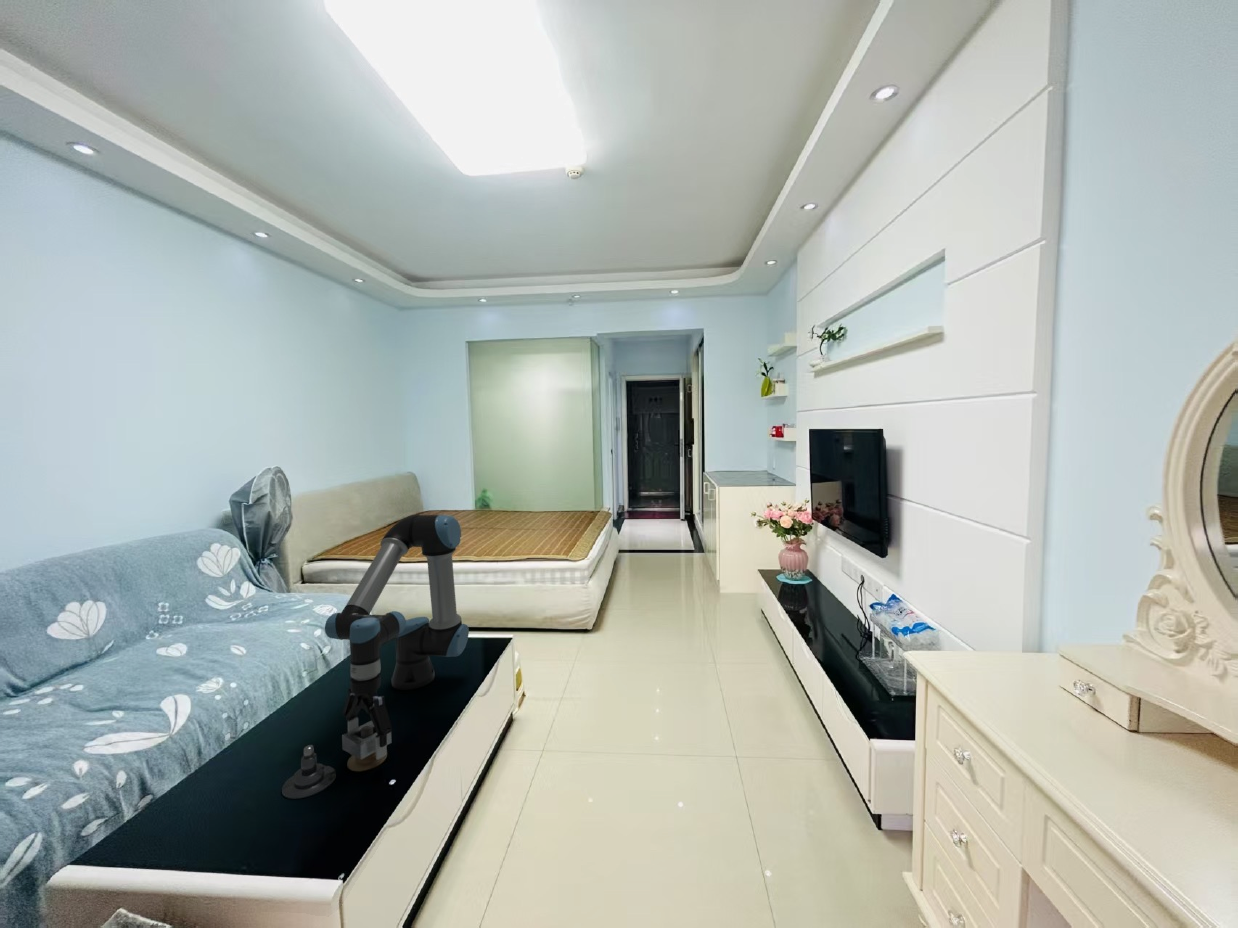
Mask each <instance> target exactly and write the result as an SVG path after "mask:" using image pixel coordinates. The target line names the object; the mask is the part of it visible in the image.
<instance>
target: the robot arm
mask: <svg viewBox="0 0 1238 928" xmlns="http://www.w3.org/2000/svg"><path fill="white" fill-rule="evenodd" d="M461 538H462V531H461V526H460V523H459V521H458V519H457V518H455V516H451V515H444V514H412V515H409V516H406V517H403V518H402V519H400V520H399V521H397V522H396V523H395V524H394V525H393V526H392V527H390V528H389V530H388V531H387V532H386V533H385V534H384V535H383V537H382V539H381V540H380V542H379V543H380V548H379V550H378V552H377V553H376V555H375V556H374V558H373V560H372V562H371V563H370V565H369V566H368V568H367V570H366V572H365V573H364V575H363V577H362V578H361V580H360V582H359V583H358V585H357V587H356V588H355V589H354V591H353V593H352V594H351V596H350V598H349V600H348V601H347V603H346V605H345V606H344V608H343V609H342V611H341V612H336V613H335V612H334V613H333V614H331V615H330V616H328V618H327V620H326V621H325V625H324V632H325V635H326V636H327V638H330V639H336V640H339V641H343V640H345V641H346V640H347V641H349V649H350V651H349V652H350V654H349V655H350V659H349V661H350V669H349V673H350V687H349V688H348V689H347V697H346V699H345V703H344V707H343V709H342V710H343V711H342V713H341V714H342V717H345V720H346V721H347V733H348V732H350V731H352V730H354V729H356V728H358V727H359V717H358V716H359V712H360V710H361V709H363V710H364V711H365V712H366V714H367V715H368V716H369V717H370V721H372V722H373V725H374V727H375V730H376V732H377V734H378V735H376V736H375V737H376V759H377V760H378V759H380V758H382V757H383V756H385V755H387V756H388V750H387V746H388V745H387V734H388V733H390V732H391V733H392V732H393V728H392V723H391V720H390V717H389V713H388V709H387V706H386V698H385V696H384V695H381V696H378V692H377V691H378V689H379V688H380V687H381V684H382V683H381V681H382V678H381V668H382V667H381V647H383V646H384V645H385V644H387V643H389V642H390V641H392V640H393V639H395V660H396V661H395V662H396V664H395V666H394V669H393V674H392V676H391V687H393V688H394V689H396V690H401V691H402V690H403V691H409V690H415V689H419V688H423V687H424V686H427V685H429V684H430V683H432V682H433V681H434V680H435V669H434V666H433V664H432V661H431V658H430V656H434V657H447V658H449V657H450V658H451V657H453V658H454V657H455V658H456V657H458V656H461V654H462V653H463V652H464V650H465V648H466V647H467V642H468V639H469V634H470V633H469V632H470V631H469V630H470V629H469V626H468V624H465V623H462V617H461V615H460V614H458V613H457V601H456V587H455V578H454V577H455V576H454V567H453V566H454V564H453V554H454V553H455V552H456V550H457V549H456V548H457V547H459V545H460V543H461ZM412 548H421V555H422V556H423V557H425V558H426V559H427V560H426V562H427V571H428V583H429V592H430V603H431V604H430V605H431V607H430V608H431V614H432V615H431V616H432V617H431V619H429V618H428V617H427V616H417V617H413V618H408V619H406V617H405V616H404V615H403V614H402V612H400V611H397V610H396V611H394V610H393V611H390V612H387V613H385V614H371V613H372V611H373V608H374V607H375V605H376V603H377V601H378V599H379V598H380V596H381V594H382V593H383V591H384V589H385V587H386V586H387V583H388V581H389V579H390V578H391V577H392V575H393V573H394V572H395V569H396V568H397V566H398V564H399V562H400V560H401V558H402V556H405V555H407V554H408V552H409V550H410V549H412ZM380 730H381V731H380Z"/></svg>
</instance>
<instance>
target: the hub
mask: <svg viewBox="0 0 1238 928" xmlns="http://www.w3.org/2000/svg"><path fill="white" fill-rule="evenodd" d="M336 773H337V771H336V769H335V768H334V767H332V766H329V765H324V764H323V763H320V762H319V763H318V755H317V752H315V749H314V745H313V744H309V745H306V746H304V748H303V755H302V756H301V758H300V768H299V769H298V770H297V771H296V772H295V773H294V774H293V775H292V776H291V777H290V778H288V779H287V780H286V781H284V784H283V785H282V787H281V794H282V796H283V797H284V798H286V799H289V800H300V799H304V798H305V799H306V798H309V797H312V796H314V795H315V796H316V795H317V794H318V793H320V792H323V791H324V790H325V789H327V788H328V787H329V786H330V785H331V784H333V782H334V781H335V779H336V776H337V774H336Z"/></svg>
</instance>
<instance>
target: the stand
mask: <svg viewBox="0 0 1238 928" xmlns="http://www.w3.org/2000/svg"><path fill="white" fill-rule="evenodd" d="M371 735H373V726H365V727H363V728H362V729H361V738H362V739H365V738H367V737H369V736H371ZM387 757H388V754H387V755H385V756H383V757H382V758H380V759H378V760H377V759H376V752H374V753H372V754H370V755H369V756H367V757H365V758H363V759H361V760H360V759H359V758H357V757H355V756H353V755H352V754H351V756H350V757H348V760H347V763H346V765H347V769H348V770H350V771H353V772H365V771H369V770H372V769H374V768H376V767H378V766H380V765H382V763H383V762H385V761H386V759H387Z"/></svg>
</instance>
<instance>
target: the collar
mask: <svg viewBox="0 0 1238 928" xmlns="http://www.w3.org/2000/svg"><path fill="white" fill-rule="evenodd" d="M365 726H373V735H371V736H369V737H367V738H365V739H362V738H361V729H362V728H363V727H365ZM380 731H381V730H380ZM376 735H378V734H377V732H376V730H375V727H374V725H373V722H372V720H370V721H368V722H365V723H364V724H362V725H360V726H358V728H356V729H354V730H352V731H350V732H348V731H347V732H346V733H344V734H342V735H341V740H342V741H341V742H342V746H341V747H342V750H343V751H345V752H347V753H348V754H350V755H351V756H352V755H353V756H355V757H357V758H359V759H360V760H361V759H363V758H365V757H367V756H369V755H370V754H372V753H374V752H376V737H375V736H376ZM390 744H392V732H390V733H388V734H387V746H388V745H390Z"/></svg>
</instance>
